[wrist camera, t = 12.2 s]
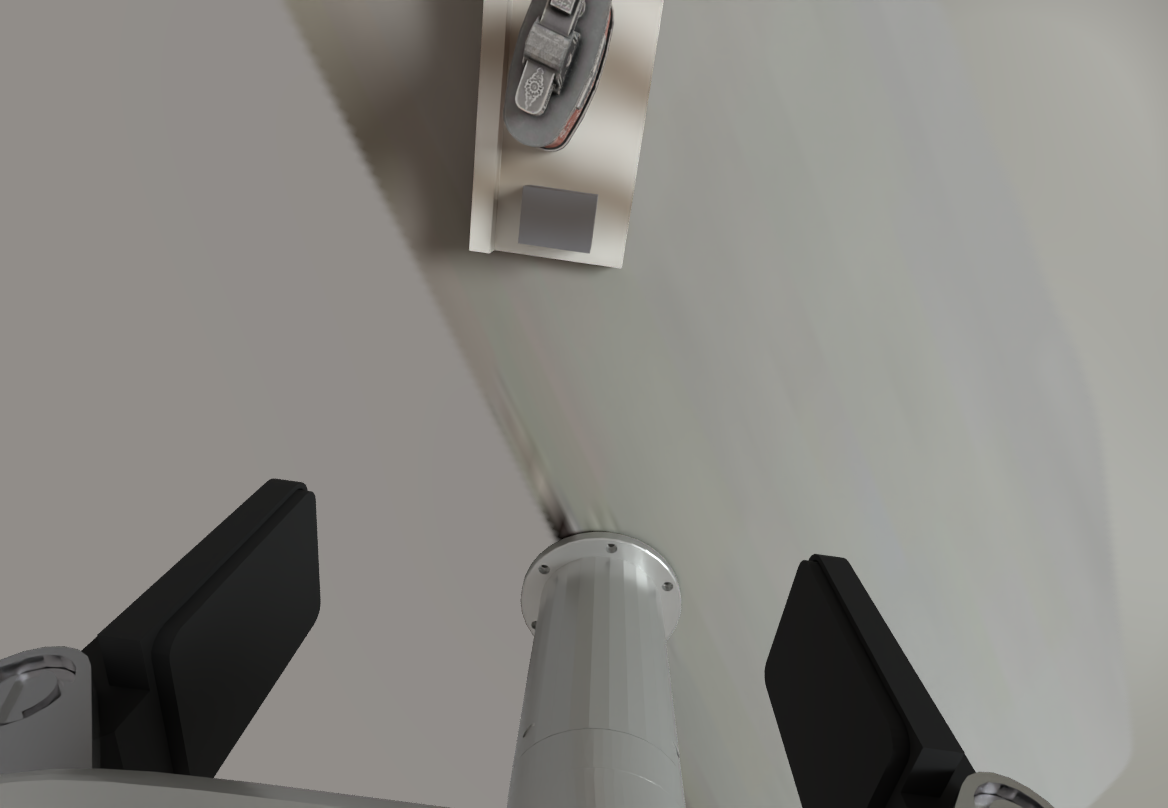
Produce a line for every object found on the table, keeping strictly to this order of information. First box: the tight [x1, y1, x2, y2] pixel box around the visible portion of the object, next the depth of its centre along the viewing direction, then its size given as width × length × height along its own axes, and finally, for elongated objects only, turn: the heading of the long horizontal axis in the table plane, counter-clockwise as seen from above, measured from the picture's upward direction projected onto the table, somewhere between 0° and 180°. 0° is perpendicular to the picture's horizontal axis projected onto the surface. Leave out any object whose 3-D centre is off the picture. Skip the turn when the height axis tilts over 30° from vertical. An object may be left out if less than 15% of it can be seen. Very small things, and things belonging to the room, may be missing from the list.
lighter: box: [503, 0, 614, 152], centre depth 27 cm, size 8×3×10 cm, turn 157°
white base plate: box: [469, 0, 664, 268], centre depth 31 cm, size 20×9×4 cm, turn 172°
